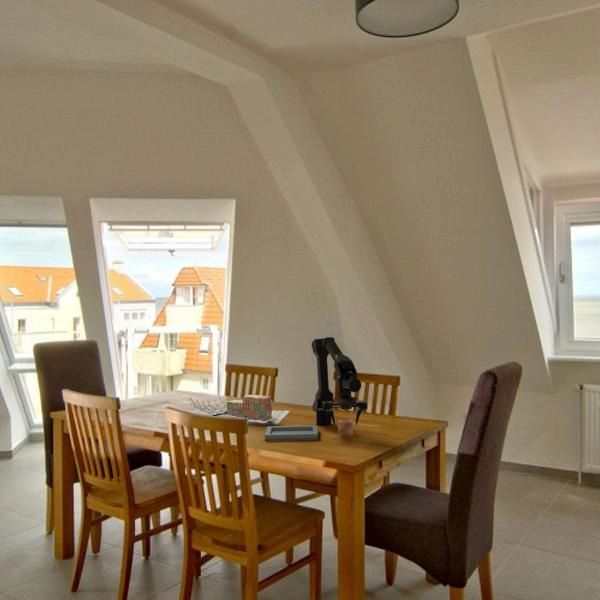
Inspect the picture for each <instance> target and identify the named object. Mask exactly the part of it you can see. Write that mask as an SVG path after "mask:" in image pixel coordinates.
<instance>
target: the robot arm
mask: <svg viewBox="0 0 600 600" xmlns="http://www.w3.org/2000/svg"><path fill="white" fill-rule="evenodd" d="M335 339H336V338H335V337H332V336H328V337H327V336H324V337H321V338H314V339H313V340H312V341H311V349H312V353H313V355H314V356H315V358H316V365H317V367H316V369H317V385H318V389H317V391H316V393H315V396H314V397H315V399H314V401H313V404H312V406H311V407H312V411H313V412H314V413H315V414H316V415H315V417H316V418H315V420H316V421H315V424H316V425H317V426H330V425H331V423H333V426H336V419H335V414H334V413H335V412H334V408H340V410H352V409H353V408H356V411H355V419H354V420H355V426H357V425H358V422H359V419H360V415H361V414H362V412H365V410H368V403H367V400H357V397H356V396H352V393H358V392H359V391H360V390H361V389H362V382H361V381H360V379H358V373H357V372H358V371H357V368H356V366H355V364H354V362H353V360H352V359H351V358H350V357H349V356H347V355H345V354H344V353H343V351H342V350H341V349H340V347H339V346H338V344H337V342H336V340H335ZM329 356H330V357H331V359H332V360H333V362H334V365H333V367H334V370H335V371H334V372H336V376H335V377H336V378H337V402H336V403H335V400H334V392H332V391H331V390H330V386H329V385H330V384H329V382H330V381H329V370H328V369H329V367H328V357H329Z"/></svg>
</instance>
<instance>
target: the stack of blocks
mask: <svg viewBox="0 0 600 600" xmlns="http://www.w3.org/2000/svg"><path fill="white" fill-rule="evenodd" d="M226 407H227V413H226V415H232V416H236V417H244V418H248V419H253V420H262V421H266V420H269V419H270V418H271V419H272V396H269V395H259V394H247V395H245V396H242V400H241V399H232V400H228V401H226Z"/></svg>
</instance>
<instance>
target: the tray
mask: <svg viewBox="0 0 600 600" xmlns="http://www.w3.org/2000/svg"><path fill="white" fill-rule="evenodd" d="M265 440H292V441H318V440H319V431H318V425H315V424H314V425H313V424H312V425H278V426H277V425H273V426H272V425H270V426H266V430H265V433H264V441H265Z"/></svg>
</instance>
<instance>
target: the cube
mask: <svg viewBox="0 0 600 600" xmlns="http://www.w3.org/2000/svg"><path fill="white" fill-rule="evenodd" d="M337 432H338V433H337V434H338V438H348V437H351V436H353V437H354V421H353V419H337Z"/></svg>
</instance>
